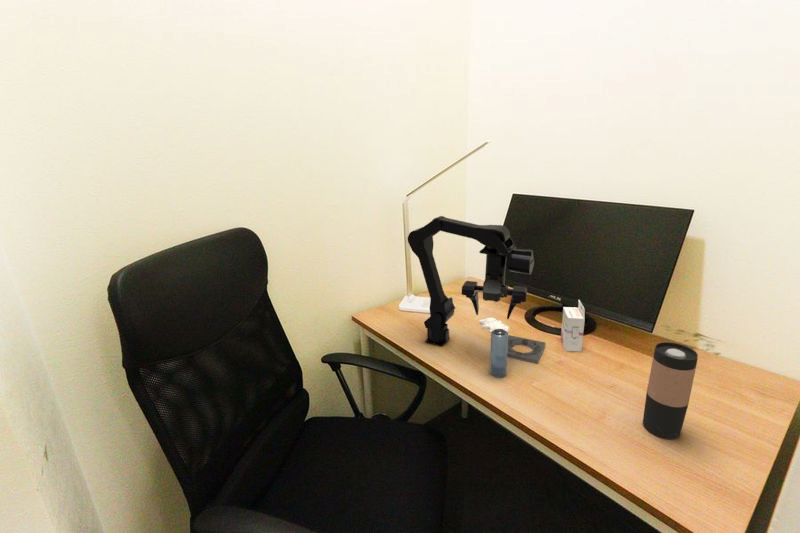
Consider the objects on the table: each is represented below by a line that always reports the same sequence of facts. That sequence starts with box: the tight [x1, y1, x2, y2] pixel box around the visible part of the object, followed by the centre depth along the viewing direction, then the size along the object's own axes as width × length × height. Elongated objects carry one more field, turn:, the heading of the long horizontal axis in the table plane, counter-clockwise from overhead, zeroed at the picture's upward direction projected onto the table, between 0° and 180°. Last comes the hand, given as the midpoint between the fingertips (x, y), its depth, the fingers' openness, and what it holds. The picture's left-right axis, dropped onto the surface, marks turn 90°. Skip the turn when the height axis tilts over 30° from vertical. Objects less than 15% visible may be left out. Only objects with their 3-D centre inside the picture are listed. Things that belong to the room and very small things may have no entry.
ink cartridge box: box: [560, 299, 586, 353], centre depth 121 cm, size 9×5×15 cm, turn 168°
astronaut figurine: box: [478, 317, 510, 334], centre depth 137 cm, size 9×12×3 cm
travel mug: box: [642, 341, 699, 440], centre depth 83 cm, size 8×8×20 cm
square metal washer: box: [507, 334, 546, 365], centre depth 121 cm, size 12×12×1 cm
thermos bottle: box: [489, 329, 509, 379], centre depth 107 cm, size 5×5×14 cm
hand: (492, 316), depth 116 cm, fingers open, 9 cm apart
